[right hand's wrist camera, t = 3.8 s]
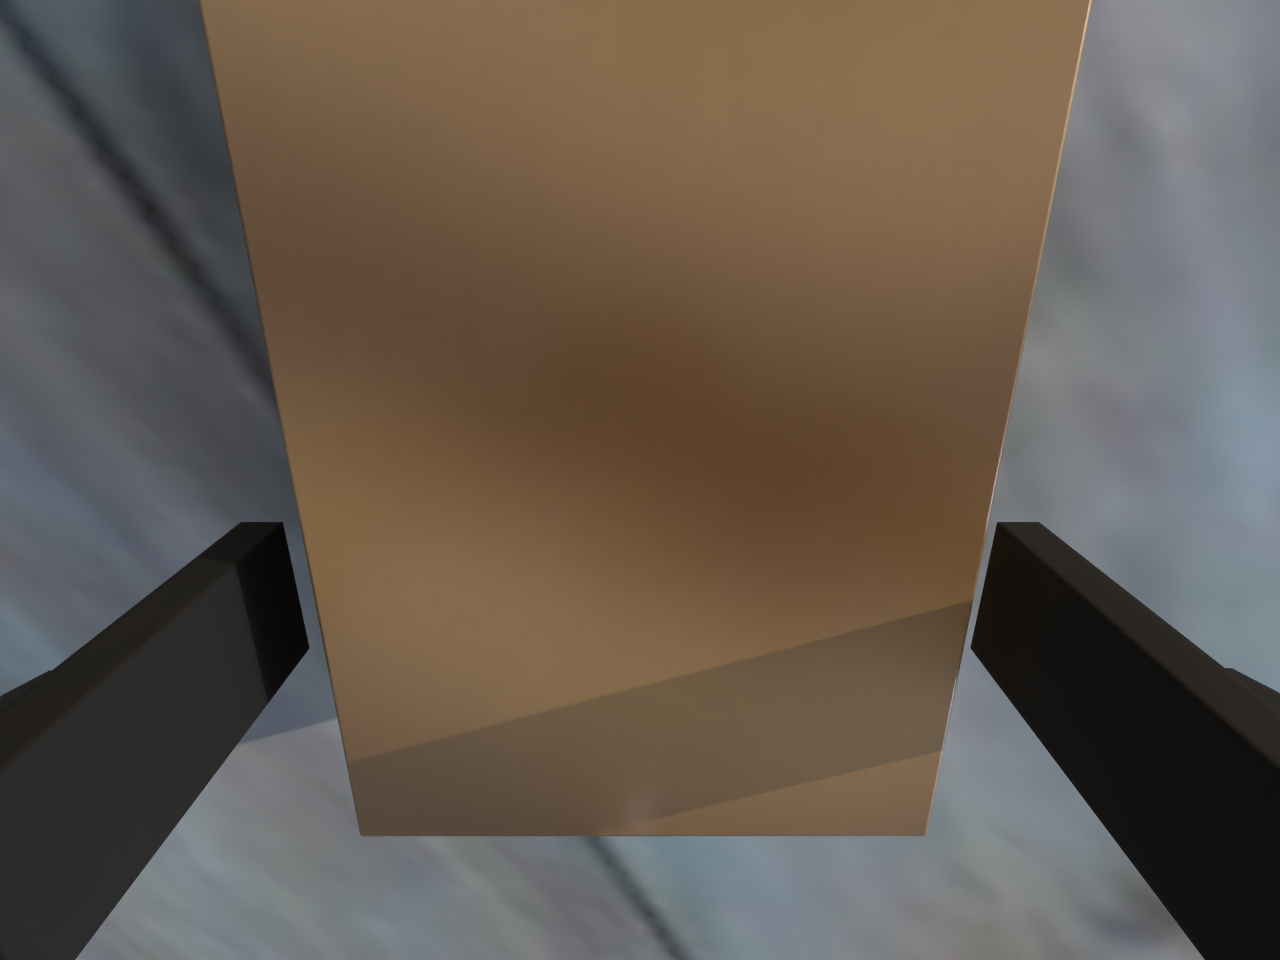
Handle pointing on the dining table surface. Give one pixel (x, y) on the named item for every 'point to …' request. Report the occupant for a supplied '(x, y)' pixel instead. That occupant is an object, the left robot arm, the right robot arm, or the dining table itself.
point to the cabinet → (644, 386)
